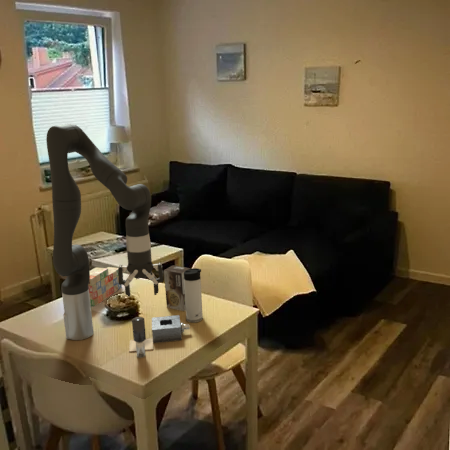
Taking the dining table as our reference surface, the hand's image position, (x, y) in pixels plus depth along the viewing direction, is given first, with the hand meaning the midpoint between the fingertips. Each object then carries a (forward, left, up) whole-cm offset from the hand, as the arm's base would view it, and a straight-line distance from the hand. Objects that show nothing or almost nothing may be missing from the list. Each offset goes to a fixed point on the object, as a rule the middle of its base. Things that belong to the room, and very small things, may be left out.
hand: (142, 295), depth 174 cm
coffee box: (+13, +35, -21) cm, 43 cm away
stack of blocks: (-19, +54, -21) cm, 61 cm away
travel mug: (+18, +22, -21) cm, 35 cm away
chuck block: (+9, +11, -21) cm, 25 cm away
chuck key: (-2, -2, -21) cm, 21 cm away
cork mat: (-2, +5, -21) cm, 21 cm away
